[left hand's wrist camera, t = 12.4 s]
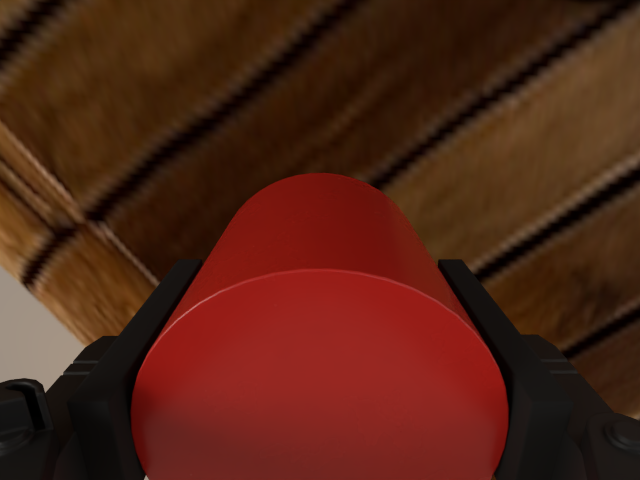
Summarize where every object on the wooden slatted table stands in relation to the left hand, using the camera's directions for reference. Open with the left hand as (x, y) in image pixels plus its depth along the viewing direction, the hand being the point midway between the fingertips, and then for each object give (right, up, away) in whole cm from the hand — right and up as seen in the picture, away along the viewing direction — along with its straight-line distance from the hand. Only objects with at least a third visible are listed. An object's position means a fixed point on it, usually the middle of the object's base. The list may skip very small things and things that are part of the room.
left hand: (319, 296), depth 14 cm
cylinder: (0, +1, +2) cm, 2 cm away
